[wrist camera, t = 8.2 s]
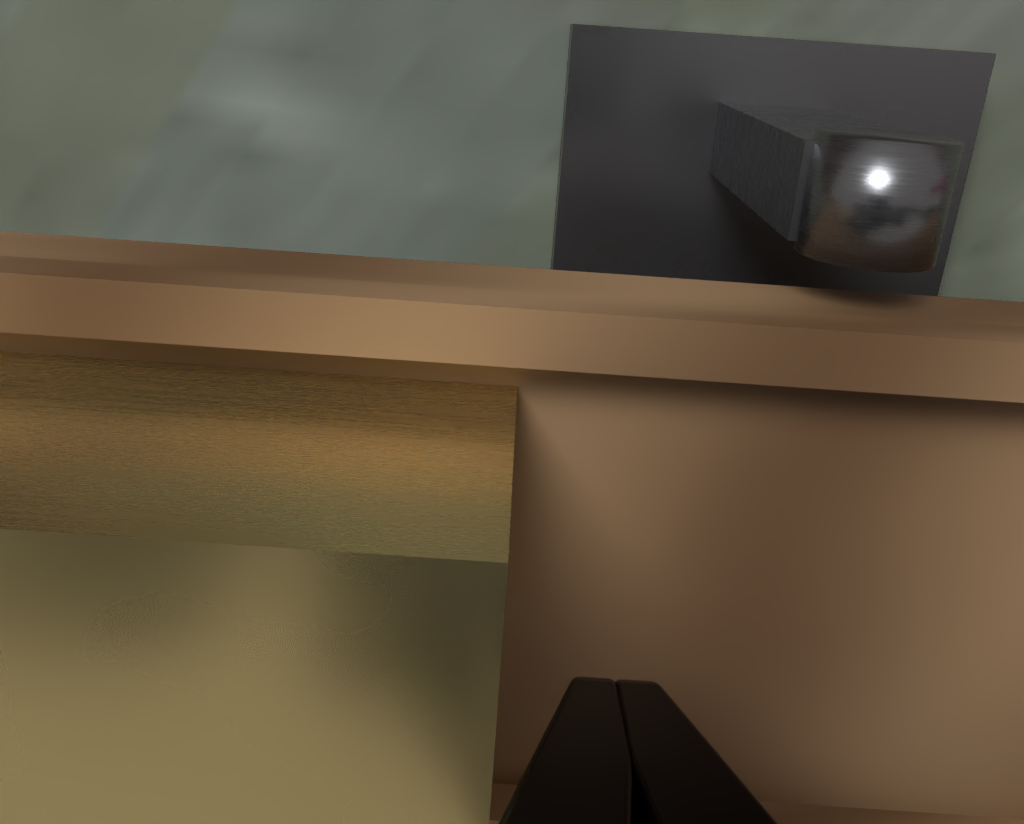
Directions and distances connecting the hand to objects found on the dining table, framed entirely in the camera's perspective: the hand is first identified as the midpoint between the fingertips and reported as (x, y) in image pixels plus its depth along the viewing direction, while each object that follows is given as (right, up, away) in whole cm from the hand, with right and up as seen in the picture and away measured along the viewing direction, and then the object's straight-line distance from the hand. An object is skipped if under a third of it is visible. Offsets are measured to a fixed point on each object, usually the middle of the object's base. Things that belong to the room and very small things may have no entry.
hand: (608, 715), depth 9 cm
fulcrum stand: (+3, +3, +7) cm, 8 cm away
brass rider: (-5, +1, +2) cm, 6 cm away
